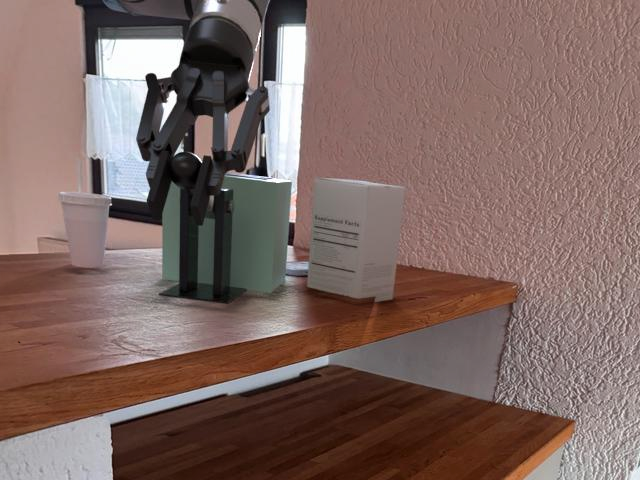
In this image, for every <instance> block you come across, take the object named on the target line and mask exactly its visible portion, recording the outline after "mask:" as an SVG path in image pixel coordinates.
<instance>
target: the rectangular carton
mask: <svg viewBox="0 0 640 480" xmlns="http://www.w3.org/2000/svg"><path fill="white" fill-rule="evenodd" d="M405 195H406V187H405V186H399V185H391V184H384V183H376V182H372V181H364V180H358V179H357V180H356V179H345V178H329V177H327V178H325V177H315V178H314V185H313V200H312V212H311V213H312V214H311V225H310V242H309V251H308V252H309V253H308V261H309V266H308V275H307V280H306V282H307V283H306V287H307V288H310V289H314V290H318V291H323V292H327V293H331V294H335V295H341V296H344V297H349V298H353V299H366V298H367V299H368V298H374V301H373V303H379V302H387V301H393V298H394V290H395V281H396V275H397V267H398V266H397V263H398V256H399V248H400V239H401V231H402V229H401V228H402V220H403V213H404V204H405V203H404V202H405Z"/></svg>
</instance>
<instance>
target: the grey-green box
mask: <svg viewBox="0 0 640 480" xmlns="http://www.w3.org/2000/svg"><path fill="white" fill-rule="evenodd" d="M292 187H293V181H292V180H287V179H280V178H274V177H268V176H259V175H253V174H252V175H251V174H243V173H237V172H236V173H235V172H229V171H228V172H227V173H226V174H225V177H224V181H223V185H222V188H221V189H224V188H227V189H233V201H234V212H233V216H232V242H231V269H230V287H237V288H245V289H247V291H254V292H255V291H256V292H261V293H262V292H263V293H269V294H271V293H272V292H274V291H275V290H276V289H277V288H279V286H281V285H282V284H284V282H286V277H287V274H286V262H288V248H289V247H288V245H289V230H290V218H291V217H290V215H291V202H292ZM161 219H162V221H161V222H162V225H161V226H162V228H161V232H162V233H161V236H162V237H161V238H162V239H161V241H162V242H161V244H162V245H161V246H162V247H161V248H162V249H161V252H162V253H161V264H162V265H161V268H162V269H161V270H162V271H161V279H162V280H166V281H174V282H179V252H180V188H179V187H177V186H176V185H175V184H174V183H173V182H171V185H170V189H169V192H168V196H167V199H166V203H165V206H164V210H163V213H162V217H161ZM214 236H215V219H209V218H204V222H203V226H200V225H199V233H198V281H197V283H205V284H213V270H214Z"/></svg>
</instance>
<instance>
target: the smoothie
mask: <svg viewBox="0 0 640 480" xmlns="http://www.w3.org/2000/svg"><path fill="white" fill-rule="evenodd" d="M82 159H83V158H82V156H76V170H77V171H76V172H77V175H76V176H77V191H70V190H69V191H67V190H65V191H59V192H58V200H57V201H59V202H60V203H61V208H62V216H63V221H64V227H65V232H66V239H67V245H68V250H69V256H70V257H69V258H70V263H71V265H72V266H74V267H76V268H77V267H78V268H87V269H100V268H103V267H105V266H104V264H105V254H106V245H107V234H108V225H109V224H108V222H109V212H110V207H111V206H113V203H112V197H111V196H109V195H104V194H98V193H92V192H91V193H90V192H84V189H83V187H84V186H83V161H82Z"/></svg>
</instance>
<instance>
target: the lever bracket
mask: <svg viewBox="0 0 640 480" xmlns="http://www.w3.org/2000/svg"><path fill="white" fill-rule="evenodd" d="M192 197H193V193H192V191H191V190H184V189H181V188H180V252H179V281H178V283H177V284H175V285H173V286H171V287H169V288H167V289H165V290H163V291H160V292H159V293H158V296H160V297H170V298H178V299H186V300H193V301H200V302H201V301H202V302H208V303H209V302H210V303H217V304H226V305H229V304H230V303H232V302H233V301H234V300H235V299H237V298H239V297H240V296H241V295H242V294H244V293H245V292H247V291H248V290H247V289H245V288H237V287H230V269H231V242H232V216H233V212H234V201H233V189H227V188H224V189H221V192H220V194H219V195H218V196H216V201H215V236H214V270H213V284H205V283H197V281H198V233H199V225H195V222H194V219H193V215H192V211H191V207H190V204H191V201H192Z"/></svg>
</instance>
